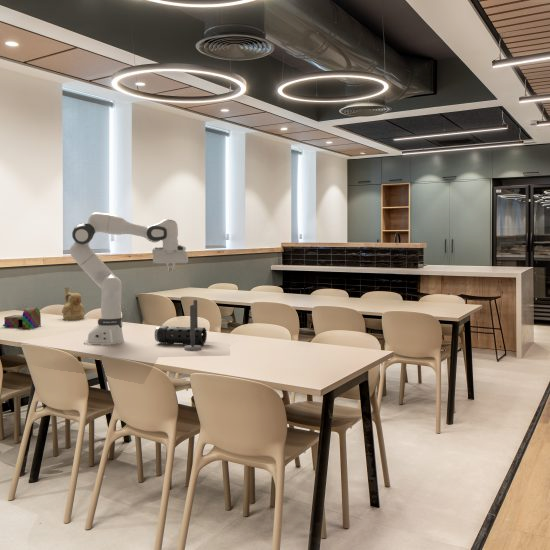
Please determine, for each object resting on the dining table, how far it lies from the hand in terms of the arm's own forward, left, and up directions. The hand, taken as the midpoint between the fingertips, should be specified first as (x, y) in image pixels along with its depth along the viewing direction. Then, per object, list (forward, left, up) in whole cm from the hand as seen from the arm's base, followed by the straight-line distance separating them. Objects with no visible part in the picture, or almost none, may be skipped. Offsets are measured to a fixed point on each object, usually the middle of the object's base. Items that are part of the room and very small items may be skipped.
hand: (170, 271), depth 331 cm
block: (-109, +68, -41) cm, 135 cm away
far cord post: (+14, +1, -41) cm, 43 cm away
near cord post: (+14, -29, -41) cm, 52 cm away
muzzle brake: (+6, -13, -41) cm, 44 cm away
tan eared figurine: (-82, +99, -41) cm, 135 cm away
